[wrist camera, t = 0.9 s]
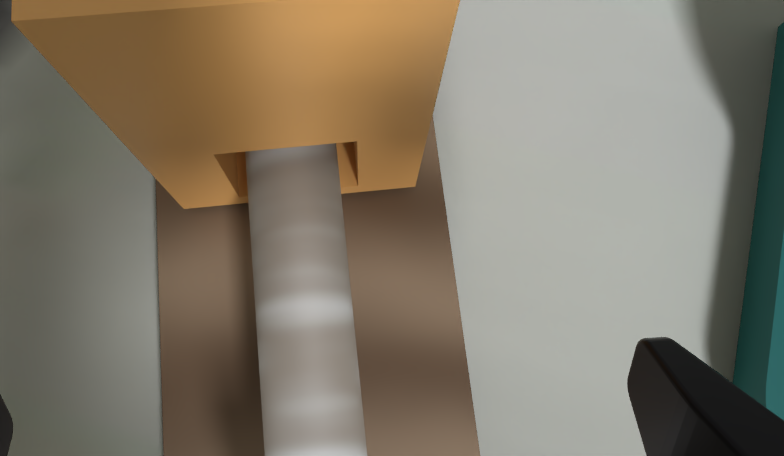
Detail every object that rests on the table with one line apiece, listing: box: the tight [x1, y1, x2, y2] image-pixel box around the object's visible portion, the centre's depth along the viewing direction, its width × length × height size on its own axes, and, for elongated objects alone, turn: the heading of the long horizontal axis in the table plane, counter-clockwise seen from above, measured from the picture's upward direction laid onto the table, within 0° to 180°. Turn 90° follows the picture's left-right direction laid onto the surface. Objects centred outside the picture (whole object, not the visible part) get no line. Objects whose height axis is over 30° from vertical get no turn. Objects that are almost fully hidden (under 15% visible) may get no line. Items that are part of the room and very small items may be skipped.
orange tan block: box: [11, 0, 460, 209], centre depth 18 cm, size 4×8×12 cm, turn 96°
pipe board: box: [156, 115, 480, 456], centre depth 22 cm, size 24×10×6 cm, turn 6°
